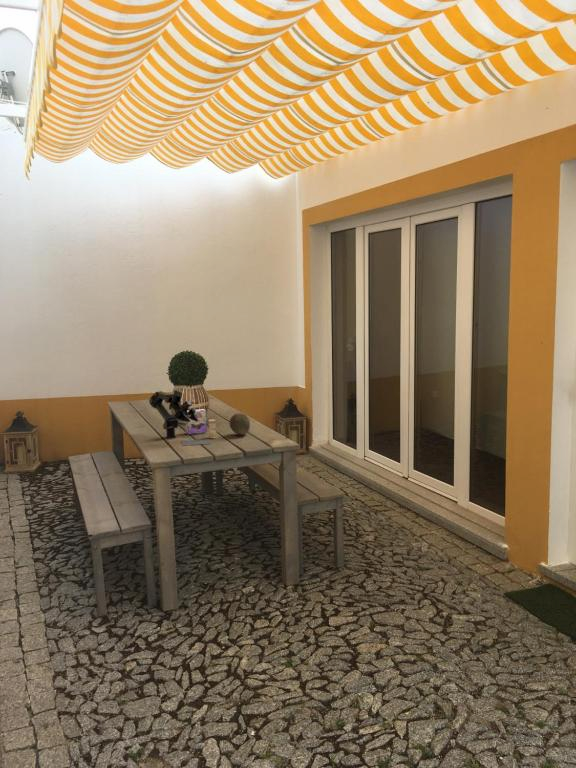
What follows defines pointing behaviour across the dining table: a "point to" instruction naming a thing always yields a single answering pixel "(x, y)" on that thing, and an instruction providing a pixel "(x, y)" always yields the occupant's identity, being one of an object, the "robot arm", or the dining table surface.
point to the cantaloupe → (240, 424)
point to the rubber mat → (195, 442)
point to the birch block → (212, 428)
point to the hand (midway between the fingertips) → (193, 421)
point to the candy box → (197, 423)
